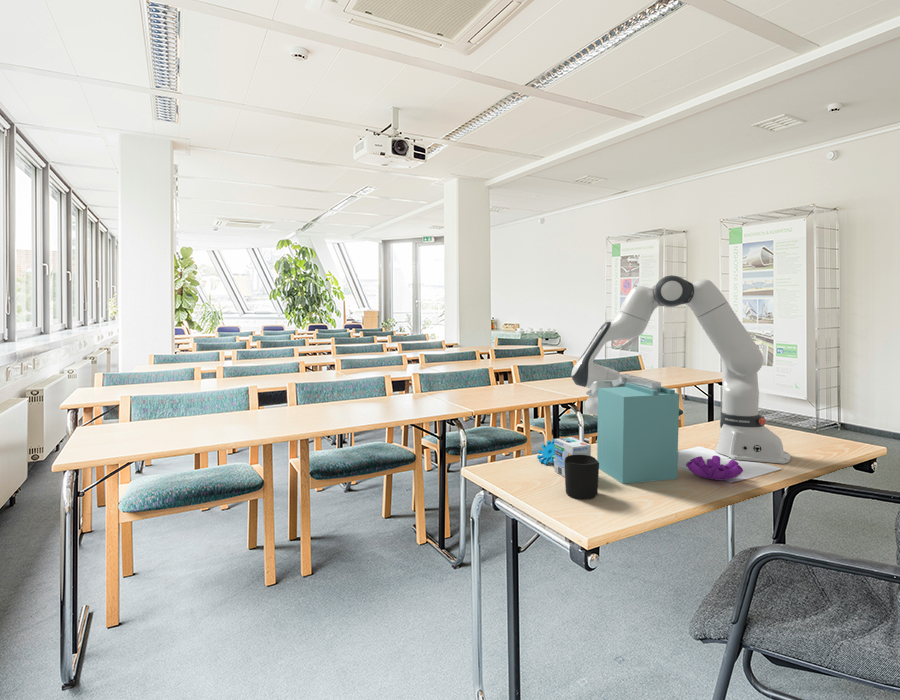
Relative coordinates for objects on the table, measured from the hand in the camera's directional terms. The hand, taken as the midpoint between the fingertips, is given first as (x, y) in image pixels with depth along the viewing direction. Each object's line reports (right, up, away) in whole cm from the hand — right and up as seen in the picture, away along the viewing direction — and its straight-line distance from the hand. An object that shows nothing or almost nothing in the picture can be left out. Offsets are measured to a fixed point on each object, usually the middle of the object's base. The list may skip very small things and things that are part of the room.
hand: (629, 378), depth 174 cm
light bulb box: (-22, -30, -10) cm, 38 cm away
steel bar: (+1, -2, -5) cm, 6 cm away
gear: (-26, -29, +3) cm, 38 cm away
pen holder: (-23, -31, -26) cm, 47 cm away
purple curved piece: (+21, -29, -15) cm, 39 cm away
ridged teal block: (-1, -29, -9) cm, 30 cm away
